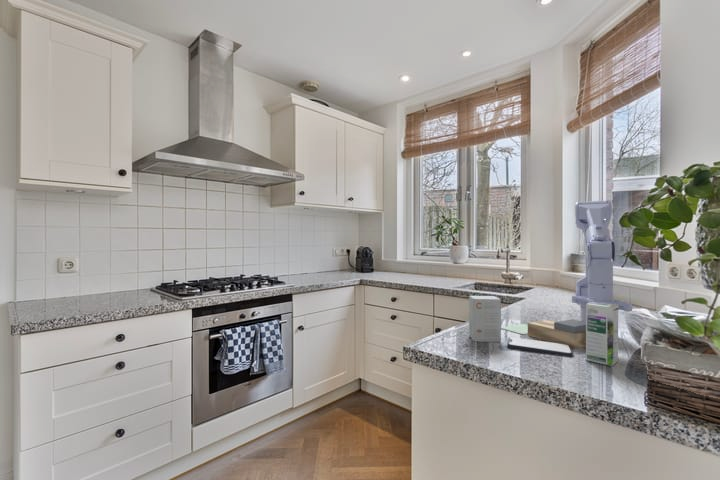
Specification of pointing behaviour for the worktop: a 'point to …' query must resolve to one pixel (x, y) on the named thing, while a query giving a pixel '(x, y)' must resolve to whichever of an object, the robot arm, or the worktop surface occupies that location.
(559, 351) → the phone case
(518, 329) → the mat
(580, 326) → the tile
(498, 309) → the small box
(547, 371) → the worktop surface
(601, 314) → the syrup box
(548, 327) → the wooden block
